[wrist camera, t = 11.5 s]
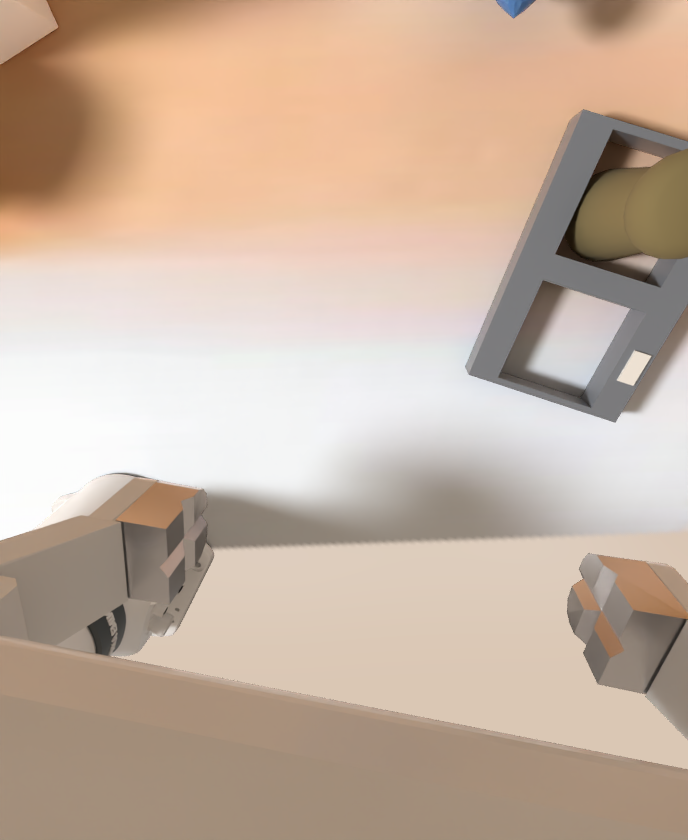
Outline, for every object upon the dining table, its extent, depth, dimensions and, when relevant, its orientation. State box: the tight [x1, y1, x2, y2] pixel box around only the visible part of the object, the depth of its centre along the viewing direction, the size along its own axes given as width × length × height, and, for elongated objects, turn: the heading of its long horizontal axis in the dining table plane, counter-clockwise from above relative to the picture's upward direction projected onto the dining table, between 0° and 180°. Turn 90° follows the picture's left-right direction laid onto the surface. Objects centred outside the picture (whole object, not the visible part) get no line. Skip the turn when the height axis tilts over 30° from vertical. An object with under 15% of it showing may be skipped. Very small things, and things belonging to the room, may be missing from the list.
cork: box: [565, 149, 688, 261], centre depth 26 cm, size 6×6×11 cm
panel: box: [465, 109, 688, 422], centre depth 31 cm, size 18×12×3 cm, turn 163°
